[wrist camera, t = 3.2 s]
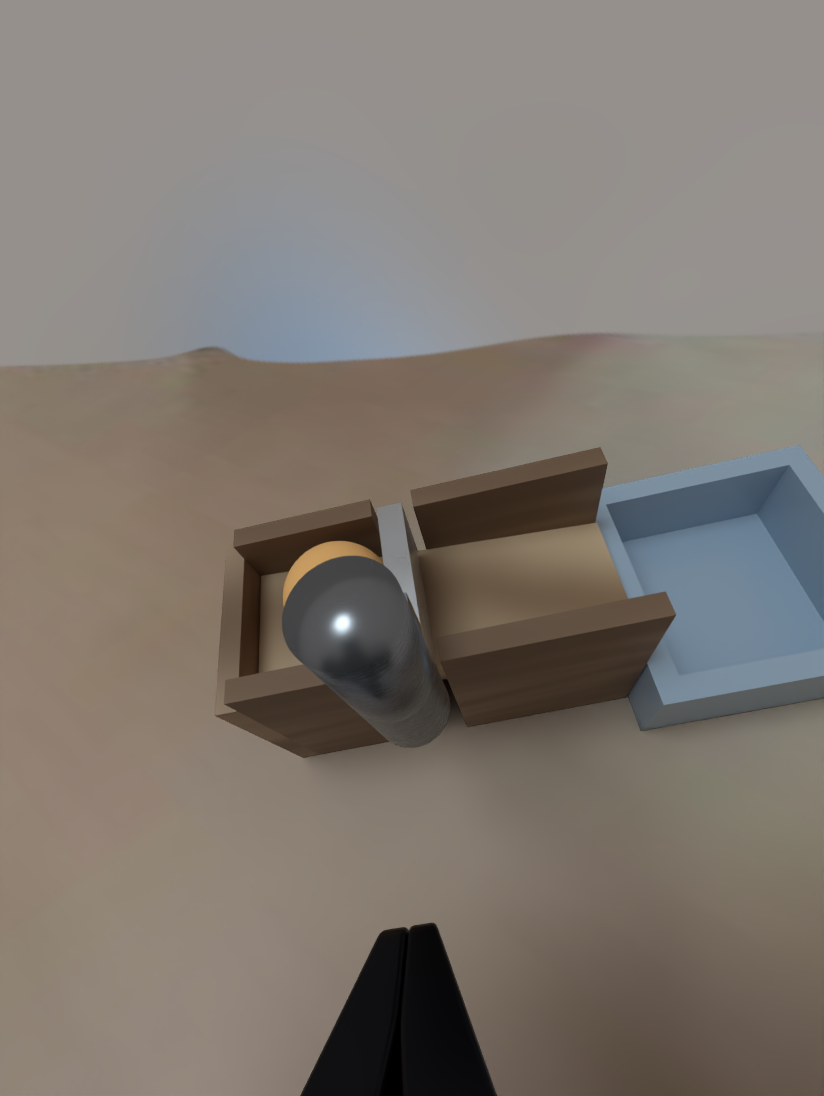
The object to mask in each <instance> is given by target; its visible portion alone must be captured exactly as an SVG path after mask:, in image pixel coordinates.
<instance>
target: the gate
mask: <svg viewBox="0 0 824 1096" xmlns="http://www.w3.org/2000/svg"><path fill="white" fill-rule="evenodd" d="M377 516H378V524H379V532H380V540H381V548H382V556H383V564H384V565H383V564H381V563H380V562H378V561H376V560H373V559H370V558H367V557H362V556H342V557H337V558H333V559H330V560H327V561H325V562H323V563H321V564H319V565H317V566H315V567H314V568H312V569H311V570H310V571H308V572H307V573H306V574H305V575H304V576H303V577H302V578H301V579H300V580H299V581H298V582H297V583H296V585H295V586H294V587H293V589H292V590H291V592H290V594H289V596H288V598H287V600H286V603H285V606H284V609H283V614H282V631H283V636H284V639H285V642H286V644H287V646H288V648H289V650H290V651H291V652H292V654H293V655H294V656H295V657H296V658H297V659H298V660H299V661H300V662H301V663H303V664H304V665H305V666H306V667H307V668H308V669H309V670H310V671H311V672H313V673H314V674H315V675H316V676H317V677H318V678H319V679H320V680H321V681H323V682H324V683H325V684H326V685H327V686H328V687H329V688H330V689H331V690H333V691H334V692H335V693H336V694H337V695H338V696H339V697H340V698H341V699H343V700H344V701H345V702H346V703H347V704H348V705H349V706H350V707H351V708H353V709H354V710H355V711H356V712H357V713H358V714H359V715H360V716H361V717H363V718H364V719H365V720H366V721H367V722H368V723H369V724H370V725H371V726H373V727H374V728H375V729H376V730H377V731H378V732H379V733H380V734H381V735H383V736H384V737H385V738H386V739H387V740H388V741H390V742H391V743H393V744H395V745H397V746H400V747H406V748H414V747H420V746H423V745H425V744H428V743H429V742H431V741H433V740H434V739H435V738H436V737H437V736H438V735H439V734H440V733H441V732H442V730H443V729H444V727H445V726H446V723H447V721H448V718H449V714H450V698H449V694H448V692H447V689H446V687H445V685H444V683H443V680H442V678H441V676H440V674H439V671H438V668H437V662H436V656H435V650H434V644H433V638H432V632H431V626H430V621H429V615H428V609H427V603H426V597H425V591H424V585H423V579H422V573H421V567H420V561H419V555H418V550H417V547H416V544H415V541H414V538H413V535H412V533H411V530H410V527H409V524H408V521H407V518H406V515H405V512H404V509H403V506H402V503H396V504H392V505H387V506H383V507H378V508H377Z"/></svg>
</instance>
